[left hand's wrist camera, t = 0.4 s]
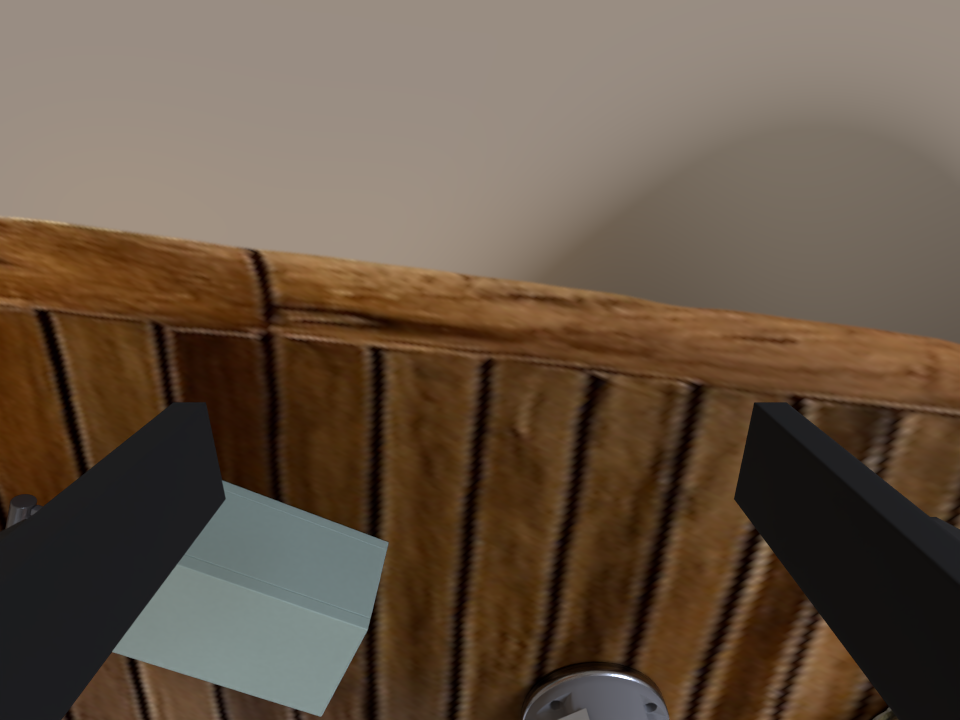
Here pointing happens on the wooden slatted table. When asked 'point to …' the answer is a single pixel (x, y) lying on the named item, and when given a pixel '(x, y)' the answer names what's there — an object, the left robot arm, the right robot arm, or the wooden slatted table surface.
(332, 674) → the cabinet
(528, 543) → the wooden slatted table surface
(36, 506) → the drawer
